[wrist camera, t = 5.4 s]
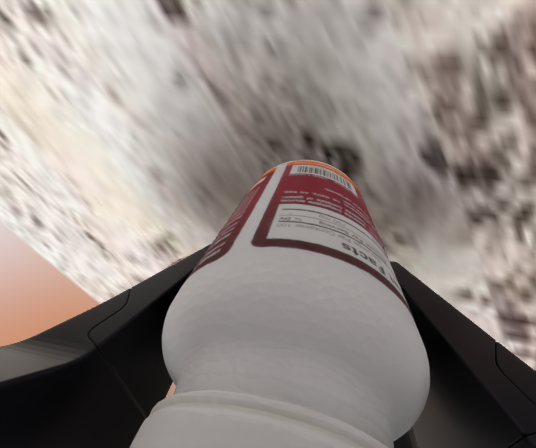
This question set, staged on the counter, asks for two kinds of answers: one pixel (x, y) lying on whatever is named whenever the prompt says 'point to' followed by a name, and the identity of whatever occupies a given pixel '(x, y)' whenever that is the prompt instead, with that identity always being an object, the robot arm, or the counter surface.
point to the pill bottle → (291, 328)
